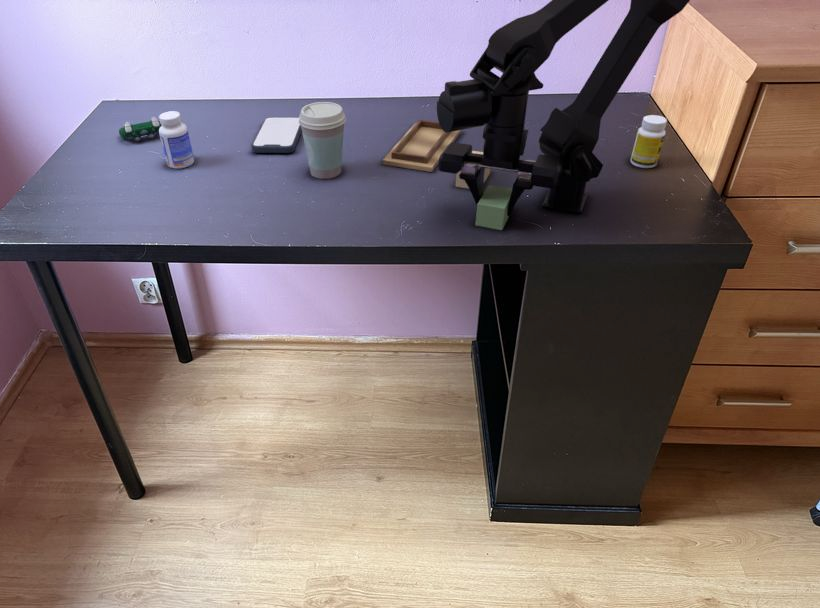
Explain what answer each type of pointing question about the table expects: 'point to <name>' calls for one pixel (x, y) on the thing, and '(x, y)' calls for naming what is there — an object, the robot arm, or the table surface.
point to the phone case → (277, 135)
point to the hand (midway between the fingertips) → (494, 212)
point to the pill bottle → (175, 140)
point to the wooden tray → (421, 147)
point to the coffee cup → (323, 137)
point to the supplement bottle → (649, 142)
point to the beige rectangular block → (462, 182)
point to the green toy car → (140, 129)
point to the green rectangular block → (493, 207)
